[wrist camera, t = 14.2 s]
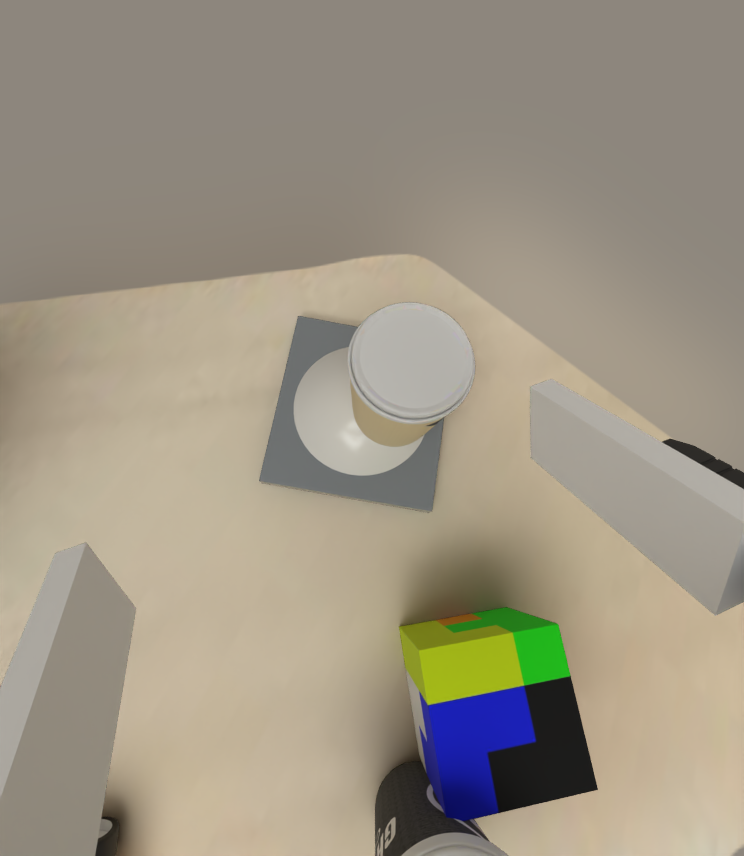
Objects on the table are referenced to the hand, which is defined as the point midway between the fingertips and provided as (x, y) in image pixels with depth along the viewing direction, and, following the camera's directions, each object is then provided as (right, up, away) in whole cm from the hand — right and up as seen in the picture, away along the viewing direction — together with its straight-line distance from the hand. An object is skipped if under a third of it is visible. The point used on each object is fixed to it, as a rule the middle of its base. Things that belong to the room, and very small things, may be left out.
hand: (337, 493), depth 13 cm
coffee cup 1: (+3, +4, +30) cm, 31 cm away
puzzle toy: (+9, -20, +26) cm, 34 cm away
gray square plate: (0, +3, +32) cm, 32 cm away
